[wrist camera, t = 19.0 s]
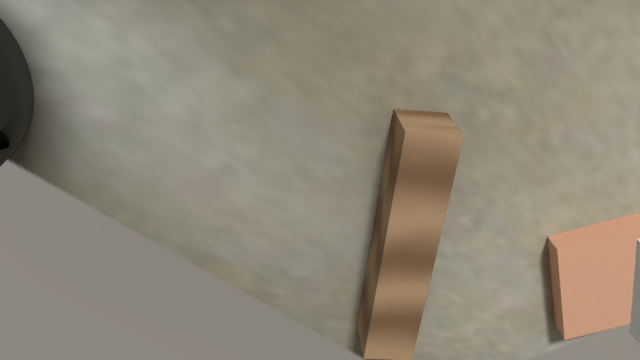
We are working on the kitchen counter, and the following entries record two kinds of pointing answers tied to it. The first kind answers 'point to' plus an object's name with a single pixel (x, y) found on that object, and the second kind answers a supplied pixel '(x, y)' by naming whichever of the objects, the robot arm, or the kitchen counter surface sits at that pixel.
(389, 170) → the walnut stick
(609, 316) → the terracotta tile
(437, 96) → the kitchen counter surface
